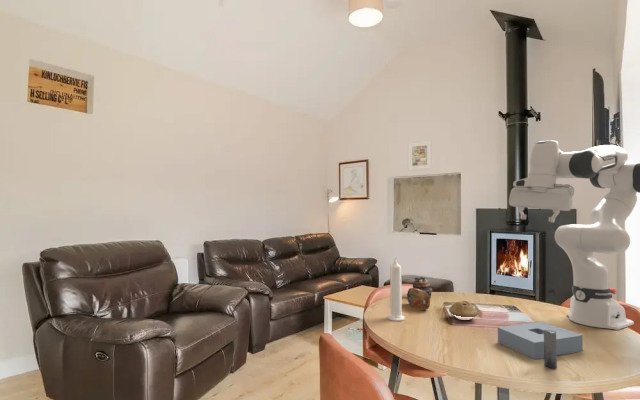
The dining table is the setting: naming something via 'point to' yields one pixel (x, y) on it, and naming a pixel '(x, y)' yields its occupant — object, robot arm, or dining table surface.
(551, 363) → the peg
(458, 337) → the dining table surface
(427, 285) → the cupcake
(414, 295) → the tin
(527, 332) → the hole block
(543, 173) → the robot arm
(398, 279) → the candle
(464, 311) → the oil lamp
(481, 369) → the dining table surface
